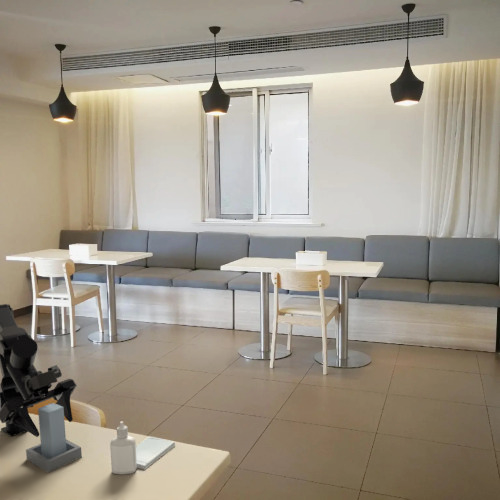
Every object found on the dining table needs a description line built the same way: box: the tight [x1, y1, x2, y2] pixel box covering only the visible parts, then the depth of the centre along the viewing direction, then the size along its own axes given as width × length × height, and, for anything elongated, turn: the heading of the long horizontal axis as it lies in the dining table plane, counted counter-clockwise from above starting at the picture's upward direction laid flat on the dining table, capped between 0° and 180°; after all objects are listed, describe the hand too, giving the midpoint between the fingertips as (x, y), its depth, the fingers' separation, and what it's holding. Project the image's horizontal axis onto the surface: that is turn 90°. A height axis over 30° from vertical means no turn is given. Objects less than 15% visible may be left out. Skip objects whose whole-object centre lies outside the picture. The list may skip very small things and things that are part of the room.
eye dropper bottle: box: [109, 420, 137, 475], centre depth 121 cm, size 4×6×12 cm
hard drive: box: [136, 436, 176, 470], centre depth 129 cm, size 2×8×12 cm
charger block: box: [37, 402, 67, 459], centre depth 128 cm, size 4×4×13 cm
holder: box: [25, 438, 83, 473], centre depth 129 cm, size 10×9×2 cm
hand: (55, 428), depth 127 cm, fingers open, 9 cm apart
